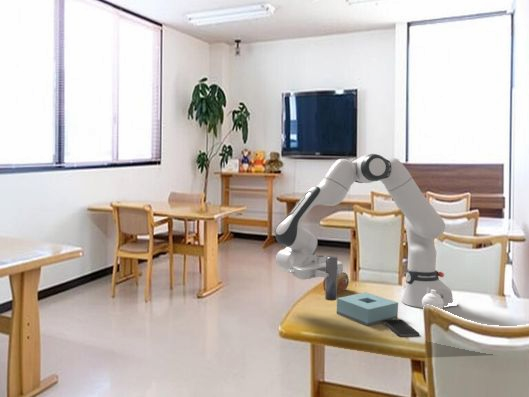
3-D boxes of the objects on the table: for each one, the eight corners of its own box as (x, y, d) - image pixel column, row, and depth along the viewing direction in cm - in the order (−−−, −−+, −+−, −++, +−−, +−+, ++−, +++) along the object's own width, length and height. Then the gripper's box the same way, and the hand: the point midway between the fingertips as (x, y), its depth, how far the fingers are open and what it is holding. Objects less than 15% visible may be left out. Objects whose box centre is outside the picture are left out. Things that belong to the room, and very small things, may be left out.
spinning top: (417, 321, 184) (418, 289, 183) (426, 317, 190) (428, 286, 189) (437, 326, 179) (439, 294, 178) (446, 321, 185) (447, 290, 184)
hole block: (365, 306, 200) (366, 292, 200) (397, 318, 188) (398, 302, 187) (336, 313, 191) (337, 298, 191) (367, 325, 178) (368, 309, 178)
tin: (327, 295, 216) (327, 276, 215) (321, 293, 218) (322, 274, 217) (348, 289, 226) (349, 271, 225) (343, 288, 228) (344, 270, 227)
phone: (398, 334, 168) (381, 319, 183) (398, 338, 168) (381, 322, 183) (420, 334, 169) (402, 319, 184) (420, 337, 169) (401, 322, 184)
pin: (334, 296, 180) (335, 255, 178) (338, 300, 176) (339, 258, 174) (323, 297, 179) (324, 256, 177) (327, 300, 175) (328, 258, 173)
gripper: (285, 261, 181) (310, 269, 169) (327, 255, 192) (353, 261, 181) (285, 278, 181) (310, 287, 170) (327, 271, 193) (353, 278, 182)
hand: (333, 274), depth 176 cm, fingers closed on pin, 4 cm apart
